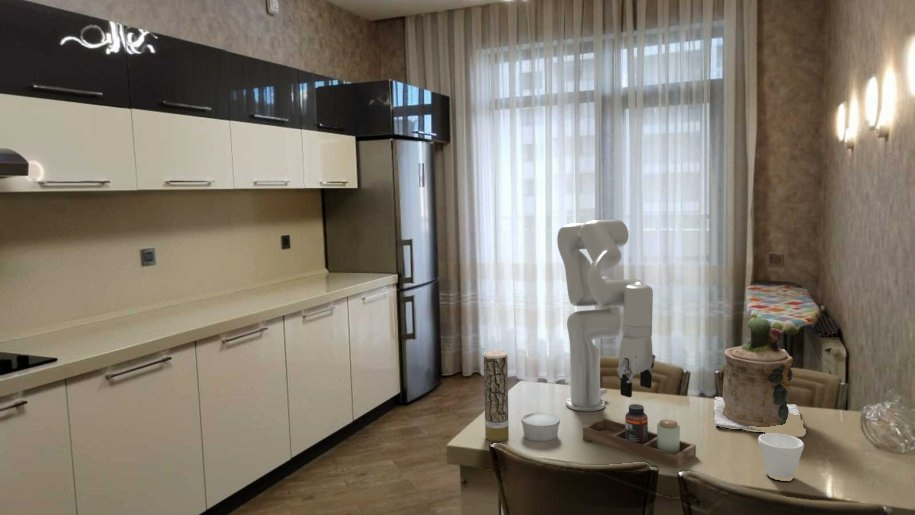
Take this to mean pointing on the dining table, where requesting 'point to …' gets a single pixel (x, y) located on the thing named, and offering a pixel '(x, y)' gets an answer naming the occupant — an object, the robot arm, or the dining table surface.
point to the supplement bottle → (636, 424)
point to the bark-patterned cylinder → (496, 395)
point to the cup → (780, 453)
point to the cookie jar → (756, 381)
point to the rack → (616, 438)
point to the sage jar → (668, 436)
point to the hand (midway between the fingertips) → (636, 391)
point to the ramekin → (540, 426)
